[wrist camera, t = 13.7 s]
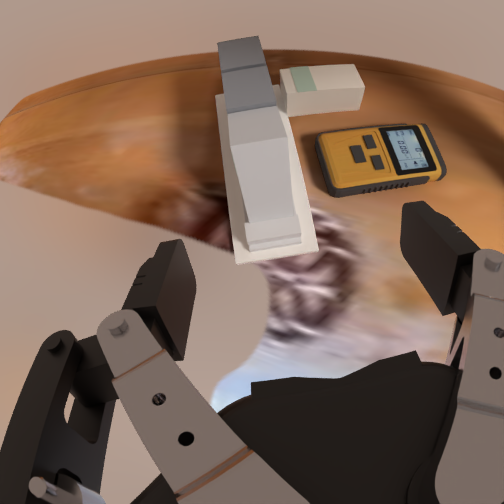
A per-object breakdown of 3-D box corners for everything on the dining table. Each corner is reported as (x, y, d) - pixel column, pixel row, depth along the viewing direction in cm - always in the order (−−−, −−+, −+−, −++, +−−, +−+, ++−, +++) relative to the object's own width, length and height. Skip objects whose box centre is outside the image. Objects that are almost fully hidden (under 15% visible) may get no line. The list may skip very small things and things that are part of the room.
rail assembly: (279, 87, 39) (275, 24, 28) (318, 251, 33) (333, 216, 22) (215, 97, 40) (196, 37, 29) (236, 264, 34) (212, 236, 23)
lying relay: (348, 87, 38) (353, 63, 33) (358, 110, 37) (365, 87, 32) (280, 93, 39) (279, 69, 34) (287, 118, 38) (286, 93, 33)
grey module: (285, 181, 34) (276, 105, 26) (293, 215, 31) (287, 136, 23) (244, 188, 34) (226, 114, 26) (248, 223, 32) (228, 146, 23)
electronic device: (311, 144, 37) (313, 129, 34) (417, 131, 36) (425, 117, 33) (329, 203, 35) (333, 191, 32) (440, 185, 34) (450, 173, 31)
